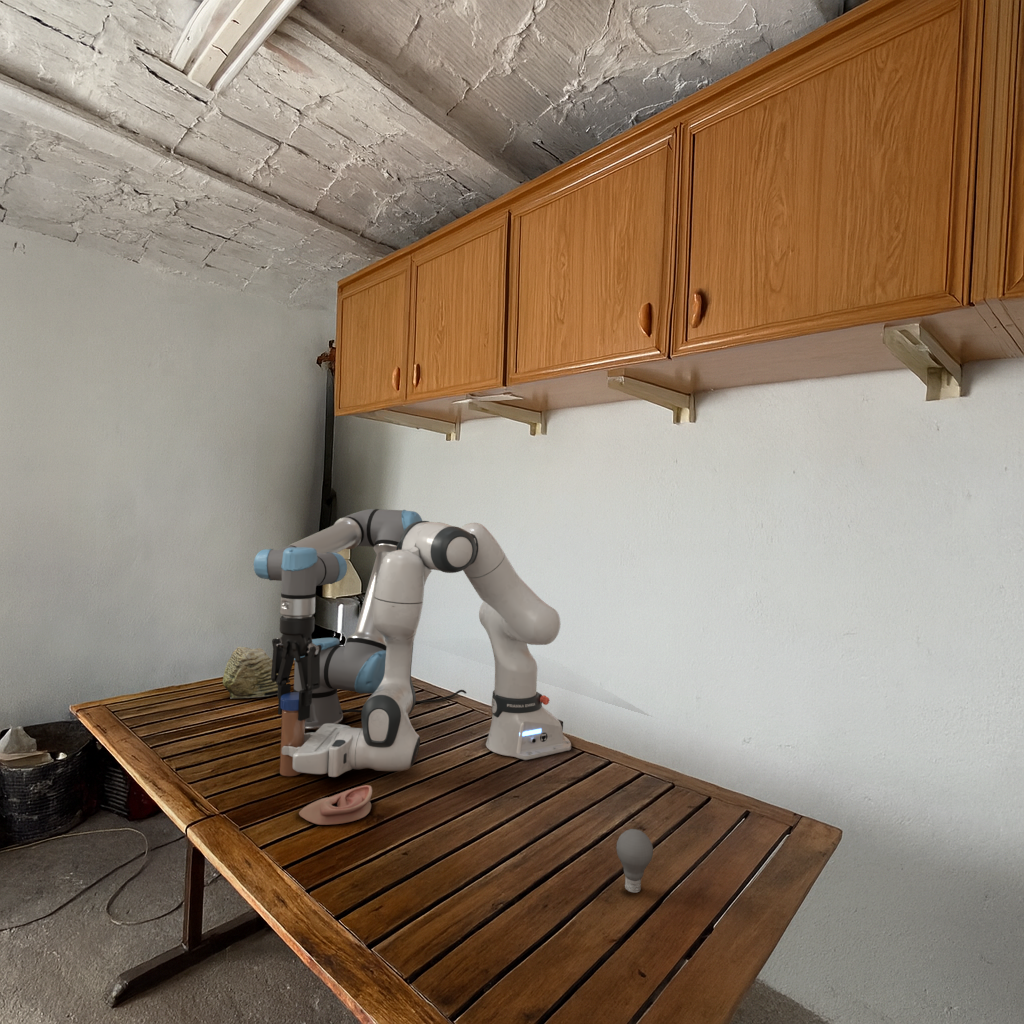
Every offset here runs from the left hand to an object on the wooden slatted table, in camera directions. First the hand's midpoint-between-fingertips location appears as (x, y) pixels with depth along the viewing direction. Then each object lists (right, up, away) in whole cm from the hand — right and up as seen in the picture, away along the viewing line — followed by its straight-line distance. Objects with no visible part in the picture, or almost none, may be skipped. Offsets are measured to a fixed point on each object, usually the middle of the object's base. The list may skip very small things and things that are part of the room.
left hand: (293, 715), depth 145 cm
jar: (-1, -13, 0) cm, 13 cm away
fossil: (-31, -11, +53) cm, 62 cm away
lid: (0, +4, 0) cm, 4 cm away
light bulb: (+70, -17, -39) cm, 82 cm away
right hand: (-1, -6, 0) cm, 7 cm away
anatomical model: (+15, -14, -17) cm, 27 cm away
